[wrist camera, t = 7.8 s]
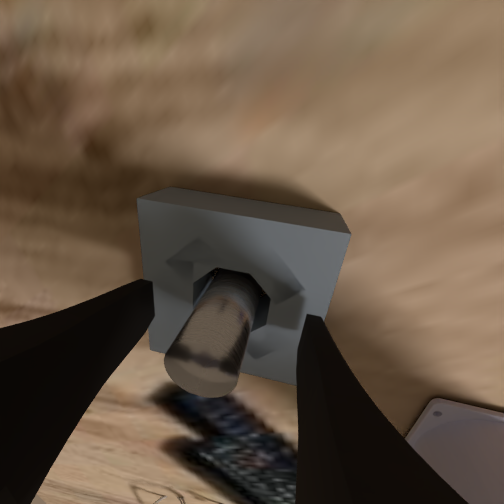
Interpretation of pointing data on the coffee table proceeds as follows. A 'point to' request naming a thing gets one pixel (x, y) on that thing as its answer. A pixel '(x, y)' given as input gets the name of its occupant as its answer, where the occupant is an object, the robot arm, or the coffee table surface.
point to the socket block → (241, 266)
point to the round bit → (215, 336)
